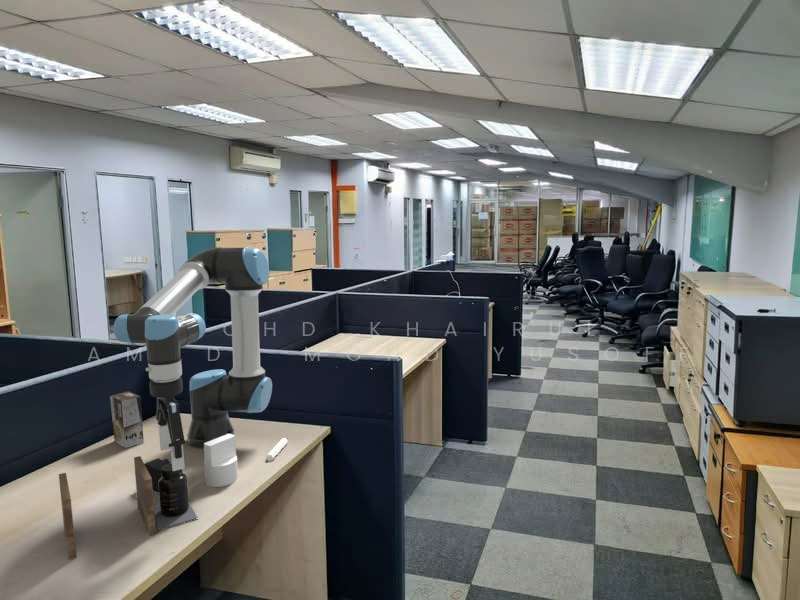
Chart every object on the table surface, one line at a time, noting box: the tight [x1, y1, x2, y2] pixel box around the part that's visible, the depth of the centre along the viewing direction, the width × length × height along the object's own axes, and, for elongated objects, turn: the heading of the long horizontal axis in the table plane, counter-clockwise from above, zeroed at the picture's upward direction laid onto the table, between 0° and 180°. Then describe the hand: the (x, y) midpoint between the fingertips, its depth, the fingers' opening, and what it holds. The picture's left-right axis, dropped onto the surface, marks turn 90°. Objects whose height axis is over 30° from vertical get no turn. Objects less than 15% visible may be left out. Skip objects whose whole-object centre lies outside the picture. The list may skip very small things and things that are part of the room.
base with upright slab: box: [203, 434, 239, 488], centre depth 160 cm, size 9×9×12 cm
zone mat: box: [154, 502, 199, 531], centre depth 143 cm, size 9×13×1 cm
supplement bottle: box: [158, 462, 190, 517], centre depth 142 cm, size 7×7×12 cm
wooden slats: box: [58, 455, 157, 560], centre depth 133 cm, size 18×15×14 cm
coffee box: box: [109, 390, 145, 449], centre depth 186 cm, size 9×6×16 cm
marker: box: [265, 437, 289, 461], centre depth 181 cm, size 3×2×16 cm
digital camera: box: [144, 457, 171, 494], centre depth 155 cm, size 10×5×7 cm, turn 53°
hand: (172, 458), depth 141 cm, fingers open, 13 cm apart
